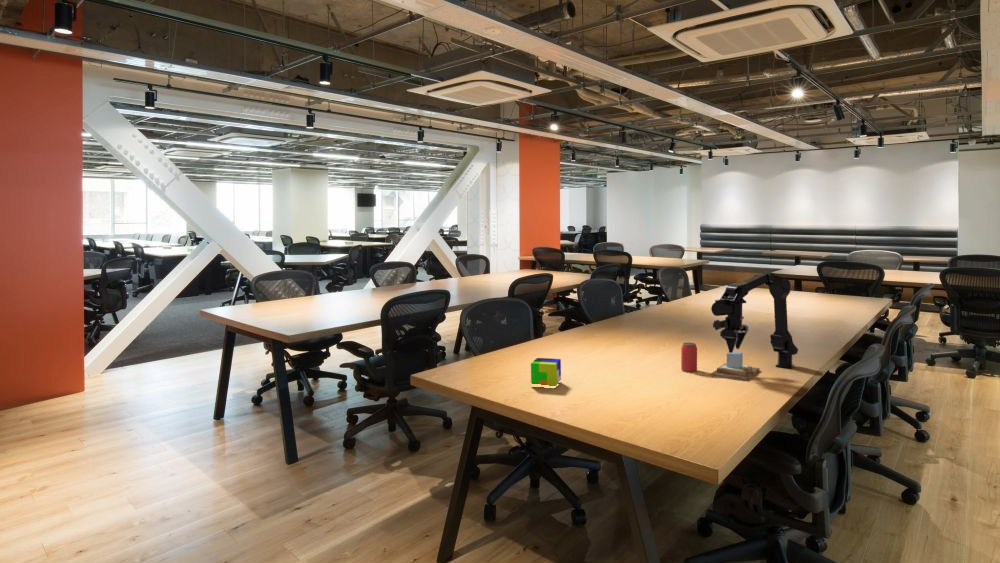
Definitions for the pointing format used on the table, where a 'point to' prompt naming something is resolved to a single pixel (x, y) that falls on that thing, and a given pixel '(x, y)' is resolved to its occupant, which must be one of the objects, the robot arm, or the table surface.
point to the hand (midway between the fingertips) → (734, 350)
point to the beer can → (689, 357)
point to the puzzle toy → (546, 371)
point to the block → (735, 359)
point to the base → (735, 372)
